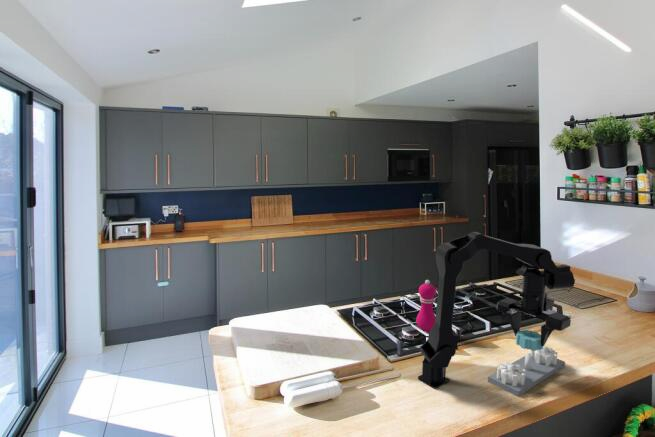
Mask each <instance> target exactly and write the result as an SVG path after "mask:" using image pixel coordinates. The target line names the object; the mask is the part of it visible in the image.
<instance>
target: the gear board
mask: <svg viewBox="0 0 655 437" xmlns="http://www.w3.org/2000/svg"><path fill="white" fill-rule="evenodd" d="M565 366H566V361H564V360H562V359H559V358H558V351H557V350H555V349H553V348H552V347H551V346H545V345H544V346H543V349H542V350H536V351H531V350H530V352H529V353H528V354H526V355H524V356H522V357H521V358H519V359H518V360H515V361H513V362H512V363H511V362H505V363H501V362H500V363H498V367H497V370H496V372H493V373H492V374H490V375H488V377H487V382H489V383H490V384H491V385H494V386H496V387H497V388H499V389H503V390H504V391H506V392H508V393H510V394H512V395H514V396H516V397H520V396H521V395H522V394H525V393H526V392H528V390H530V389H532V388H533V387H535V386H537V385H538V384H539V383H542V382H543V381H545V380H546V379H547V378H549V377H551V376H552V375H554V374H555V373H557V372H558V371H560V370H561V369H563V368H565Z"/></svg>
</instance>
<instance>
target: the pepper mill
mask: <svg viewBox="0 0 655 437" xmlns="http://www.w3.org/2000/svg"><path fill="white" fill-rule="evenodd" d="M418 294H419V301H420V309H419V312H418V313H417V316H416V320H415V322H416V325H417V327H419V328H421V329H422V330H424V331H426V332H429V333H430V330H431V328H432V327H433V325H434V324H435V319H436V313H434V308H433V307H434V306H433V305H434V303H435V296H436V294H437V289H436V287H435V286H434V285H433V284H431V281H430V280H429V279H426V280H425V281H424V283H422V284H421V285H420V286H419V288H418Z"/></svg>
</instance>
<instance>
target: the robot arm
mask: <svg viewBox="0 0 655 437" xmlns="http://www.w3.org/2000/svg"><path fill="white" fill-rule="evenodd" d="M480 250H485V251H489V252H492V253H497V254H500V255H504V256H506V257H511V258H514V259H517V260H518V261H520V262H523V263H524V264H527V265H529V266H531V267H533V268H531V267H530V268H528V267H527V266H525V265H522V266H521V267H519V268H518V269H517V270H516V271H515V273H516V274H518V275H520V276H522V291H521V292H519V297H521V304H520V301H519V300H516V299H514V298H510V297H506V298H503V299H501V300H498V302H497V303H496V310H497V311H498V312H501V313H502V315H504V316H505V317H506V319H507V321H508V322H509V324H510V326H511V329H512V331H513V333H514V336H515V337H516V333H517V331H519V330H520V328H521V327H520V326H521V316H522V314H524V315H527V316H530V317H533V318H535V319H537V320H542V321H545V324H542V325H541V327H540V335H541V346H542V347H543V346H545V345H546V343H547V341H548V339H549V338H550V335H551V334H552V333H553V331H558V332H562V331H564V330H565V329H567V328H569V327H570V326H571V322H572V320H571V319H570V317H569V316H568V315H565V314H562V313H559V312H556V311H555V312H553V313H551V314H548V313H546V312H548V311H553V309H554V305H555V299H553V298H548V293H547V292H546V289H548V290H565V289H567V290H568V289H572V288H573V287H574V286H575V282H576V281H575V280H576V279H575V275H574V273H573V272H572V271H571V265H568V264H559V265H557V264H556V263H555V262H554V260H553V257H552V252H551V251H550V250H548V249H545V248H543V247H540V246H537V245H536V244H531V243H530V244H529V243H514V242H510V241H506V240H503V239H501V238H500V239H499V238H495V237H492V236H489V235H485V234H482V233H480V232H477V231H472V232H469V233H467V234H466V235H464V236H460V237H458V238H455V239H452V240H450V241H448V242H444V243H441V244H439V246H437V247H436V249H435V261H436V262H435V263H436V267H437V271H438V274H439V275H438V285H437V286H438V288H437V295H436V296H437V299H436V308H435V309H436V310H435V316H436V319H435V324H434V325H433V327H432V328H431V330H430V334H429V337H428V338H427V339H426V341H424V343H423V344H422V345H421V346H420V347H419V350H420V352H421V354H422V356H423V360H422V367H421V368H422V369H421V370H422V371H421V375H419V376H417V379H418V380H419V381H421V382H422V383H425V384H426V385H427V386H429V387H432V388H433V389H437V388H439V387H441V386H443V385H446V384H447V383H448V382H449V383H450V378H448V377H447V376H446V375H447V374H446V373H447V371H446V370H447V368H449V366H450V363H451V360H452V357H454V356H455V355H456V352H457V351H458V350H459V347H458V344H459V340H460V339H459V338H460V336H459V334H458V333H456V331H455V330H454V329H453V320H454V310H455V308H454V307H455V300H456V299H455V298H456V289H457V279H458V277H459V276H460V274H461V272H462V271H463V268H464V264H465V262H466V261H468V260H470V259H472V258H473V257H474V256H475V255H476V254H477V252H478V251H480ZM520 331H521V330H520ZM456 350H457V351H456Z"/></svg>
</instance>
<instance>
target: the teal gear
mask: <svg viewBox="0 0 655 437" xmlns="http://www.w3.org/2000/svg"><path fill="white" fill-rule="evenodd" d="M515 344H516V345H517V346H519V347H520V348H521V349H524V350H530V352H531V351H536V350H542V349H543V347H542V346H541V333H539V332H538V331H536V330H535V331H532V330H529V329H523V330H519V331H517V333H516V336H515Z"/></svg>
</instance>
